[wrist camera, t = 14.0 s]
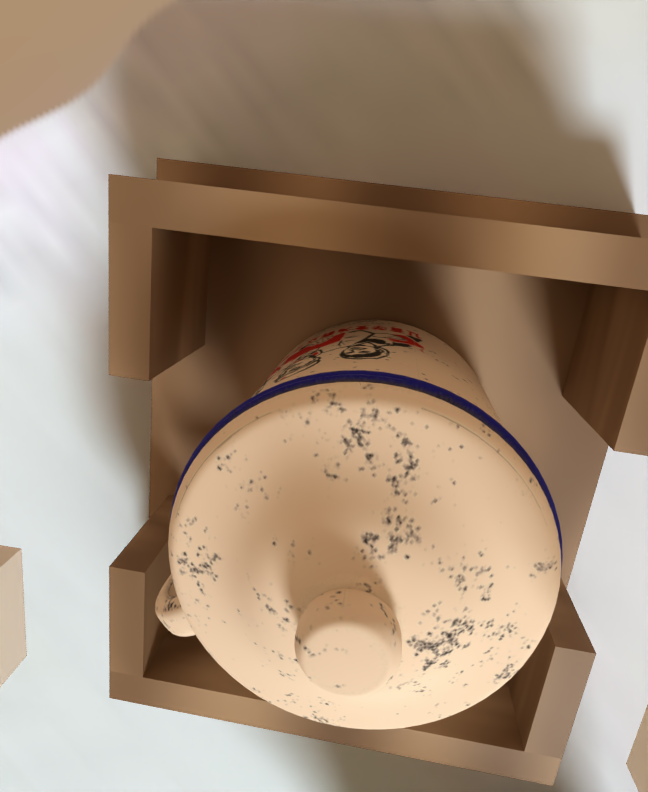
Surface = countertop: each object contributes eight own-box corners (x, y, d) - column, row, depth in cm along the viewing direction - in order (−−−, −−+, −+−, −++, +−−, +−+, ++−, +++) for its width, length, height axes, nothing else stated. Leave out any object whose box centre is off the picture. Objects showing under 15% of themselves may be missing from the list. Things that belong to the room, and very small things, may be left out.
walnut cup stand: (172, 577, 28) (88, 710, 20) (188, 166, 22) (78, 137, 14) (521, 640, 26) (571, 808, 19) (636, 218, 21) (775, 217, 13)
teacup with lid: (414, 259, 19) (440, 311, 8) (543, 472, 21) (708, 755, 10) (150, 430, 22) (-93, 635, 11) (280, 602, 24) (180, 930, 13)
